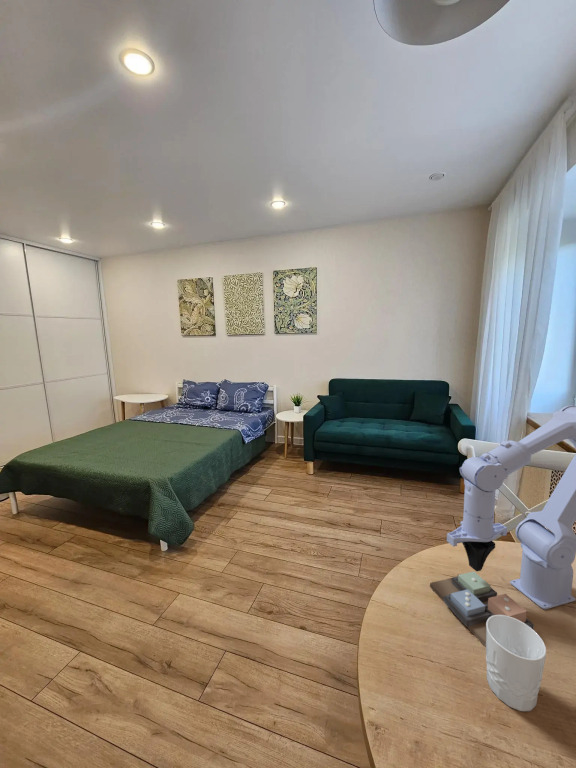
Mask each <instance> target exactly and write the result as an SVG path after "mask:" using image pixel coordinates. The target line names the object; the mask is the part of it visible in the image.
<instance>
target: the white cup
mask: <svg viewBox="0 0 576 768" xmlns="http://www.w3.org/2000/svg"><path fill="white" fill-rule="evenodd" d="M546 656H547V647H546V644H545V643H544V640H543V639H542V637H541V636H540V635H539V634H538V633H537V632H536V631H535V630H534V628H533V629H532V628H530V627H529V626H528V625H526V624H525V623H523V622H521V621H519V620H517V619H515V618H512V617H509V616H505V615H493V616H491V617H489V618H488V620H487V622H486V647H485V661H486V680H487V683H488V685H489V689H490V690H491V691H492V693H493V694H494V695H495V696H496V697H497V698H498V700H501V702H503V703H504V704H505V705H506V706H508V707H509V708H512V709H515V710H517V711H519V712H531V711H532V710H533V709H534V708H535V707H537V702H538V694H539V692H540V689H541V683H542V680H543V679H542V678H543V674H544V673H543V672H544V668H545V660H546V658H547V657H546Z"/></svg>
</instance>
